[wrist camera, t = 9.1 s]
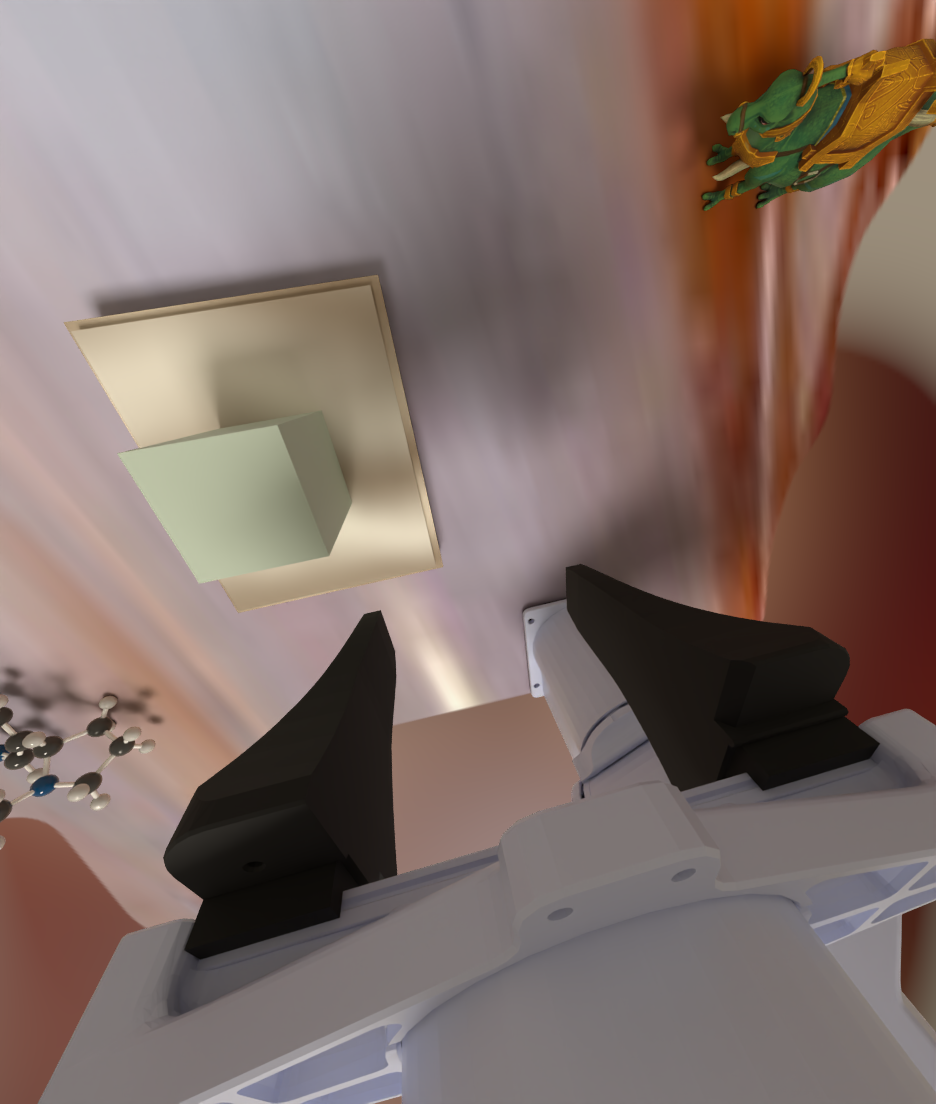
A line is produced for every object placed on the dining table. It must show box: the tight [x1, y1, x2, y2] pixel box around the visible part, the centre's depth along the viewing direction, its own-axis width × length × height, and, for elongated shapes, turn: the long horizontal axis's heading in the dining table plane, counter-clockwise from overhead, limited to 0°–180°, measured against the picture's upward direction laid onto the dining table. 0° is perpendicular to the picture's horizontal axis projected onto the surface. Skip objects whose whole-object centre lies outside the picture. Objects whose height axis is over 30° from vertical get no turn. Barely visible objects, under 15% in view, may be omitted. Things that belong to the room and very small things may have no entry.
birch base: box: [64, 275, 443, 613], centre depth 17 cm, size 14×12×2 cm
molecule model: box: [0, 694, 155, 850], centre depth 20 cm, size 6×12×8 cm, turn 78°
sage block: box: [117, 410, 352, 584], centre depth 13 cm, size 4×4×6 cm
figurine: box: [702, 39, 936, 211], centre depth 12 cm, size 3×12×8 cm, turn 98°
